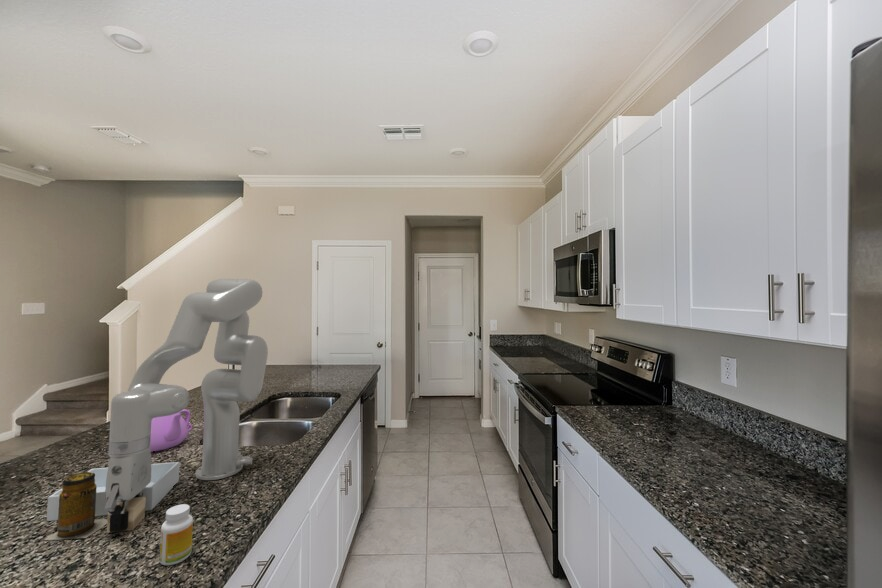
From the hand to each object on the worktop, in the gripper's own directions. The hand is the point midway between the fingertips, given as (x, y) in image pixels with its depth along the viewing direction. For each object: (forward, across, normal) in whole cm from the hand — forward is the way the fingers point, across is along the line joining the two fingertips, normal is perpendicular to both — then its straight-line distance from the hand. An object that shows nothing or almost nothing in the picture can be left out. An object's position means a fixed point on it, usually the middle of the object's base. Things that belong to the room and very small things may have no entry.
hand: (126, 522), depth 84 cm
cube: (+1, 0, 0) cm, 1 cm away
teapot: (+1, +50, +14) cm, 52 cm away
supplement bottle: (+1, -15, -16) cm, 22 cm away
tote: (+1, +13, +8) cm, 15 cm away
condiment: (+1, 0, +9) cm, 9 cm away
